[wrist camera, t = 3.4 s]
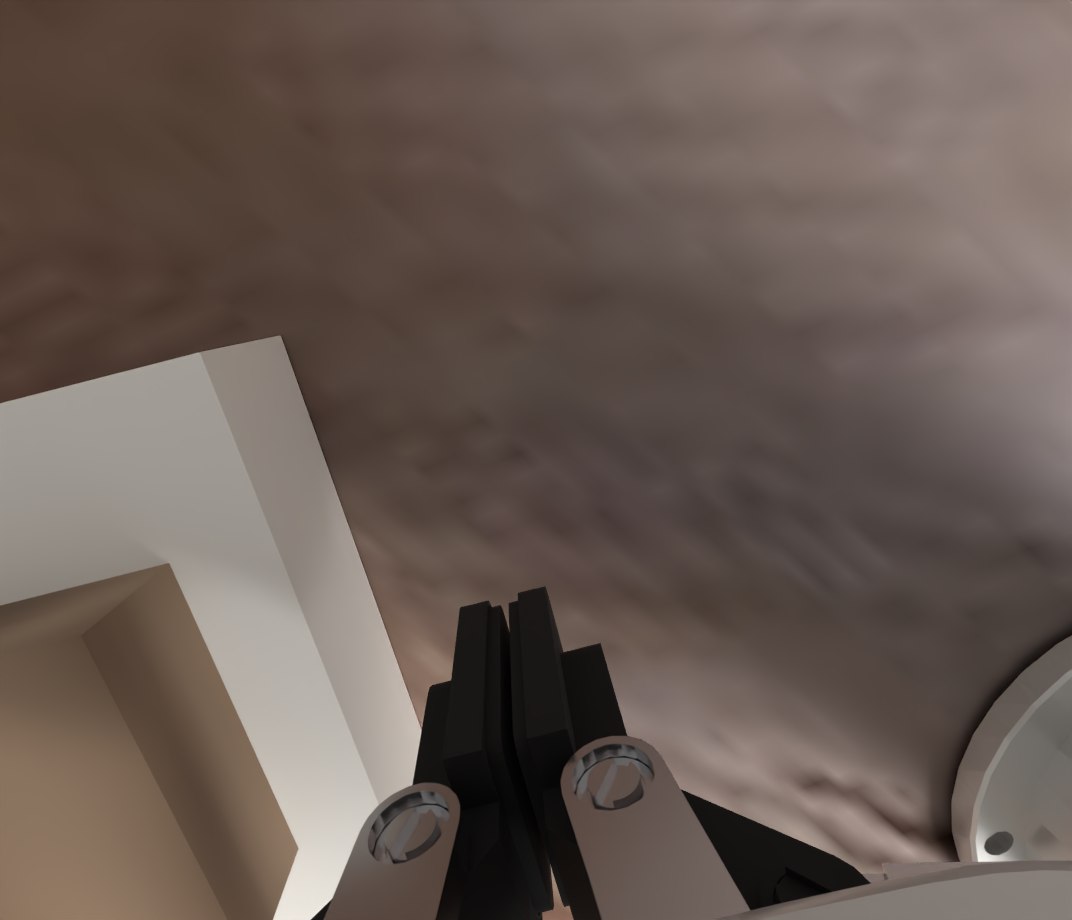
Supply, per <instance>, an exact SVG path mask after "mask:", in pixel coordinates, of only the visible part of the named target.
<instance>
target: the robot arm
mask: <svg viewBox="0 0 1072 920" xmlns="http://www.w3.org/2000/svg"><path fill="white" fill-rule="evenodd" d="M509 629H510V633H509ZM509 629H508V626H507V622H506V619H505V615H504V612H503V609H502V607H501V605H499V606H495V607H491V604H490V602H489V601H485V602H481V603H477V604H473V605H469V606H465V607H461V608H460V612H459V621H458V629H457V637H456V646H455V654H454V662H453V671H452V679H451V681H447V682H443V683H439V684H435V685H432V686H431V687H430V689H429V692H428V697H427V703H426V709H425V715H424V720H423V726H422V732H421V738H420V743H419V749H418V755H417V761H416V766H415V772H414V778H413V784H412V786H408V787H406V788H404V789H402V790H400V791H398V792H396V793H394V794H392V795H391V796H390V797H388V798H387V799H386V800H384V801H383V802H382V803H380V804H379V805H378V806H377V807H376V808H375V810H374V811H373V812H372V813H371V814H370V815H369V816H368V818H367V819H366V821H365V823H364V825H363V826H362V828H361V830H360V832H359V834H358V837H357V839H356V842H355V844H354V847H353V849H352V851H351V854H350V856H349V859H348V861H347V864H346V866H345V869H344V871H343V873H342V876H341V878H340V881H339V883H338V886H337V888H336V891H335V893H334V895H333V898H332V899H331V900H330V901H329V902H328V903H327V904H326V905H325V906H324V907H323V908H322V909H321V910H320V911H319V912H318V913H317V914H316V915H315V916H314V917H313V918H312V919H311V920H542V912H545V911H549V910H553V908H554V902H553V890H552V879H551V868H550V864H551V867H552V871H553V874H554V877H555V880H556V884H557V887H558V890H559V893H560V897H561V900H562V903H563V905H564V907H565V906H569V905H570V909H571V912H572V915H573V919H574V920H1072V635H1071V636H1069V637H1068V638H1066V639H1064V640H1063V641H1061V642H1059V643H1057V644H1056V645H1055V646H1053V647H1052V648H1051V649H1050V650H1048V651H1047V652H1046V653H1045V654H1044V655H1042V656H1041V657H1040V658H1039V659H1037V660H1036V661H1035V662H1034V663H1032V664H1031V665H1030V666H1029V667H1027V668H1026V669H1025V670H1024V671H1023V672H1022V673H1021V674H1020V675H1019V676H1018V677H1017V678H1016V679H1015V680H1014V681H1013V682H1012V684H1011V685H1010V686H1009V687H1008V688H1007V689H1006V690H1005V691H1004V692H1003V693H1002V694H1001V695H1000V697H999V698H998V699H997V700H996V701H995V702H994V704H993V705H992V707H991V708H990V710H989V711H988V713H987V714H986V716H985V717H984V719H983V720H982V722H981V723H980V725H979V726H978V728H977V729H976V731H975V732H974V734H973V736H972V738H971V741H970V743H969V745H968V748H967V750H966V752H965V754H964V757H963V759H962V761H961V764H960V766H959V769H958V774H957V778H956V783H955V787H954V792H953V796H952V801H951V805H952V834H953V838H954V842H955V846H956V849H957V853H958V857H959V860H960V862H924V863H882V865H883V874H861V873H860V872H859V871H858V870H857V869H855V868H854V867H853V866H851V865H849V864H848V863H846V862H844V861H843V860H841V859H839V858H837V857H836V856H834V855H831V854H829V853H827V852H824V851H822V850H820V849H818V848H815V847H813V846H811V845H808V844H806V843H804V842H801V841H799V840H797V839H794V838H792V837H790V836H787V835H785V834H783V833H781V832H778V831H776V830H774V829H771V828H769V827H767V826H764V825H762V824H760V823H757V822H755V821H753V820H750V819H748V818H746V817H744V816H741V815H739V814H737V813H734V812H732V811H730V810H727V809H725V808H723V807H720V806H718V805H716V804H713V803H711V802H709V801H707V800H704V799H702V798H700V797H697V796H695V795H693V794H690V793H688V792H686V791H683V790H681V789H680V787H679V786H678V784H677V782H676V781H675V779H674V777H673V775H672V774H671V772H670V770H669V768H668V767H667V765H666V763H665V761H664V760H663V758H662V756H661V755H660V754H659V753H658V752H657V750H656V749H655V748H654V747H653V746H651V745H650V744H648V743H646V742H645V741H643V740H641V739H637V738H633V737H629V736H627V734H626V730H625V727H624V723H623V720H622V716H621V713H620V709H619V706H618V703H617V699H616V696H615V692H614V689H613V685H612V682H611V678H610V675H609V671H608V668H607V664H606V661H605V657H604V654H603V650H602V647H601V644H600V643H599V644H595V645H591V646H587V647H583V648H579V649H575V650H571V651H567V652H563V649H562V645H561V642H560V638H559V634H558V630H557V627H556V623H555V619H554V615H553V612H552V608H551V604H550V600H549V597H548V593H547V590H546V587H545V586H544V587H540V588H536V589H532V590H528V591H524V592H520V593H518V601H515V602H511V603H509Z"/></svg>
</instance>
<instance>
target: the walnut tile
mask: <svg viewBox="0 0 1072 920" xmlns="http://www.w3.org/2000/svg"><path fill="white" fill-rule="evenodd" d="M298 849H299V848H298V846H297V844H296V842H295V839H294V837H293V835H292V833H291V831H290V828H289V826H288V824H287V822H286V820H285V817H284V815H283V813H282V811H281V809H280V806H279V804H278V802H277V800H276V798H275V795H274V793H273V791H272V789H271V787H270V784H269V782H268V780H267V778H266V775H265V773H264V771H263V769H262V767H261V764H260V762H259V760H258V758H257V756H256V753H255V751H254V749H253V747H252V745H251V742H250V740H249V738H248V736H247V734H246V731H245V729H244V727H243V725H242V723H241V720H240V718H239V716H238V714H237V711H236V709H235V707H234V705H233V703H232V700H231V698H230V696H229V694H228V692H227V689H226V687H225V685H224V683H223V681H222V678H221V676H220V674H219V672H218V670H217V667H216V665H215V663H214V661H213V659H212V656H211V654H210V652H209V650H208V647H207V645H206V643H205V641H204V639H203V636H202V634H201V632H200V630H199V628H198V625H197V623H196V621H195V619H194V617H193V614H192V612H191V610H190V608H189V606H188V603H187V601H186V599H185V597H184V595H183V592H182V590H181V588H180V586H179V583H178V581H177V579H176V577H175V575H174V572H173V570H172V568H171V566H170V564H169V563H167V564H163V565H159V566H155V567H151V568H147V569H143V570H139V571H135V572H131V573H127V574H123V575H119V576H115V577H111V578H107V579H104V580H100V581H96V582H92V583H88V584H84V585H80V586H76V587H72V588H68V589H64V590H60V591H56V592H52V593H48V594H44V595H40V596H36V597H32V598H28V599H24V600H20V601H16V602H12V603H8V604H4V605H1V606H0V920H273V918H274V915H275V913H276V910H277V907H278V904H279V901H280V899H281V896H282V893H283V890H284V888H285V885H286V882H287V879H288V876H289V874H290V871H291V868H292V865H293V863H294V860H295V857H296V854H297V852H298Z"/></svg>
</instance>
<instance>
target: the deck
mask: <svg viewBox="0 0 1072 920" xmlns="http://www.w3.org/2000/svg"><path fill="white" fill-rule="evenodd" d="M167 563H169V564H170V566H171V568H172V570H173V572H174V575H175V577H176V579H177V581H178V583H179V586H180V588H181V590H182V592H183V595H184V597H185V599H186V601H187V603H188V606H189V608H190V610H191V612H192V614H193V617H194V619H195V621H196V623H197V625H198V628H199V630H200V632H201V634H202V636H203V639H204V641H205V643H206V645H207V647H208V650H209V652H210V654H211V656H212V659H213V661H214V663H215V665H216V667H217V670H218V672H219V674H220V676H221V678H222V681H223V683H224V685H225V687H226V689H227V692H228V694H229V696H230V698H231V700H232V703H233V705H234V707H235V709H236V711H237V714H238V716H239V718H240V720H241V723H242V725H243V727H244V729H245V731H246V734H247V736H248V738H249V740H250V742H251V745H252V747H253V749H254V751H255V753H256V756H257V758H258V760H259V762H260V764H261V767H262V769H263V771H264V773H265V775H266V778H267V780H268V782H269V784H270V787H271V789H272V791H273V793H274V795H275V798H276V800H277V802H278V804H279V806H280V809H281V811H282V813H283V815H284V817H285V820H286V822H287V824H288V826H289V828H290V831H291V833H292V835H293V837H294V839H295V842H296V844H297V846H298V848H299V849H298V852H297V854H296V857H295V860H294V863H293V865H292V868H291V871H290V874H289V876H288V879H287V882H286V885H285V888H284V890H283V893H282V896H281V899H280V901H279V904H278V907H277V910H276V913H275V915H274V918H273V920H311V919H312V918H313V917H314V916H315V915H316V914H317V913H318V912H319V911H320V910H321V909H322V908H323V907H324V906H325V905H326V904H327V903H328V902H329V901H330V900H331V899H332V898H333V895H334V893H335V891H336V888H337V886H338V883H339V881H340V878H341V876H342V873H343V871H344V869H345V866H346V864H347V861H348V859H349V856H350V854H351V851H352V849H353V847H354V844H355V842H356V839H357V837H358V834H359V832H360V830H361V828H362V826H363V825H364V823H365V821H366V819H367V818H368V816H369V815H370V814H371V813H372V812H373V811H374V810H375V808H376V807H377V806H378V805H379V804H380V803H382V802H383V801H384V800H386V799H387V798H388V797H390V796H391V795H392V794H394V793H396V792H398V791H400V790H402V789H404V788H406V787H408V786H412V784H413V778H414V772H415V766H416V761H417V755H418V749H419V743H420V738H421V732H422V730H421V728H420V725H419V722H418V719H417V716H416V714H415V711H414V708H413V705H412V702H411V700H410V697H409V694H408V691H407V688H406V686H405V683H404V680H403V677H402V674H401V671H400V669H399V666H398V663H397V660H396V657H395V655H394V652H393V649H392V646H391V643H390V641H389V638H388V635H387V632H386V629H385V627H384V624H383V621H382V618H381V615H380V613H379V610H378V607H377V604H376V601H375V599H374V596H373V593H372V590H371V587H370V585H369V582H368V579H367V576H366V573H365V571H364V568H363V565H362V562H361V559H360V557H359V554H358V551H357V548H356V545H355V543H354V540H353V537H352V534H351V531H350V528H349V526H348V523H347V520H346V517H345V514H344V512H343V509H342V506H341V503H340V500H339V498H338V495H337V492H336V489H335V486H334V484H333V481H332V478H331V475H330V472H329V470H328V467H327V464H326V461H325V458H324V456H323V453H322V450H321V447H320V444H319V442H318V439H317V436H316V433H315V430H314V428H313V425H312V422H311V419H310V416H309V414H308V411H307V408H306V405H305V402H304V400H303V397H302V394H301V391H300V388H299V386H298V383H297V380H296V377H295V374H294V371H293V369H292V366H291V363H290V360H289V357H288V355H287V352H286V349H285V346H284V343H283V341H282V338H281V335H280V336H275V337H270V338H265V339H260V340H256V341H251V342H246V343H241V344H236V345H232V346H227V347H222V348H217V349H212V350H208V351H203V352H198V353H194V354H191V355H187V356H183V357H179V358H175V359H171V360H167V361H163V362H159V363H155V364H152V365H148V366H144V367H140V368H136V369H132V370H128V371H124V372H120V373H116V374H113V375H109V376H105V377H101V378H97V379H93V380H89V381H85V382H81V383H77V384H74V385H70V386H66V387H62V388H58V389H54V390H50V391H46V392H42V393H39V394H35V395H31V396H27V397H23V398H19V399H15V400H11V401H7V402H3V403H0V606H1V605H4V604H8V603H12V602H16V601H20V600H24V599H28V598H32V597H36V596H40V595H44V594H48V593H52V592H56V591H60V590H64V589H68V588H72V587H76V586H80V585H84V584H88V583H92V582H96V581H100V580H104V579H107V578H111V577H115V576H119V575H123V574H127V573H131V572H135V571H139V570H143V569H147V568H151V567H155V566H159V565H163V564H167Z"/></svg>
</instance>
